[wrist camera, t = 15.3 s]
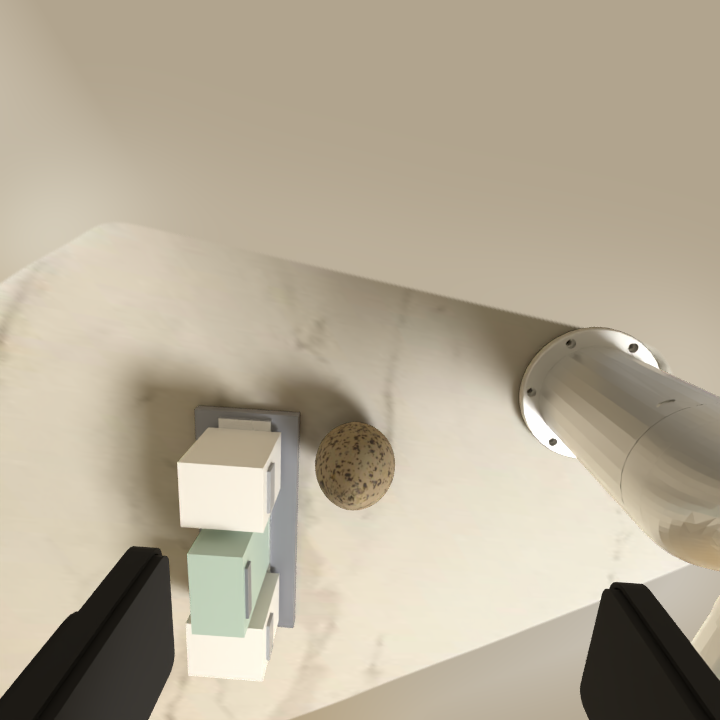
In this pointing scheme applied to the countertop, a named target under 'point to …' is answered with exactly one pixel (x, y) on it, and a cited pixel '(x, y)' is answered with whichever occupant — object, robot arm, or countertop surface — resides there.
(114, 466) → the countertop surface
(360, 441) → the decorative egg
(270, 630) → the board
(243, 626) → the block
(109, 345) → the countertop surface
